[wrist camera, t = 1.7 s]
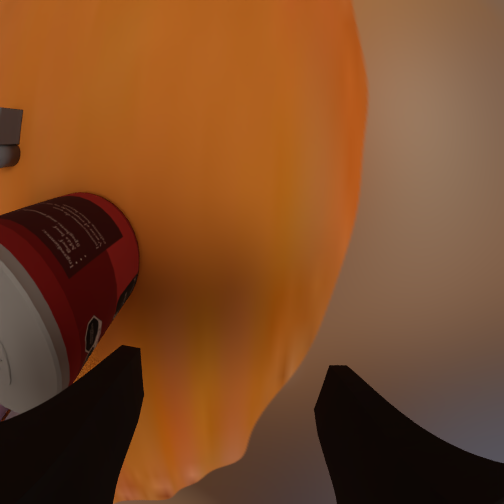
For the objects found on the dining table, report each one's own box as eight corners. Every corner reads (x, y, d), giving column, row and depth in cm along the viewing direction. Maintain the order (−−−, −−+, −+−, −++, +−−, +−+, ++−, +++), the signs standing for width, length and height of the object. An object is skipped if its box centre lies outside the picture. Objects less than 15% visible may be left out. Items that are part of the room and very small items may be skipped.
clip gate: (37, 350, 20) (23, 366, 18) (24, 346, 20) (9, 361, 18) (24, 109, 15) (3, 107, 13) (9, 111, 15) (-12, 109, 13)
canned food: (68, 314, 20) (-13, 412, 9) (31, 209, 17) (-88, 259, 7) (160, 296, 19) (101, 422, 9) (123, 174, 17) (1, 204, 7)
